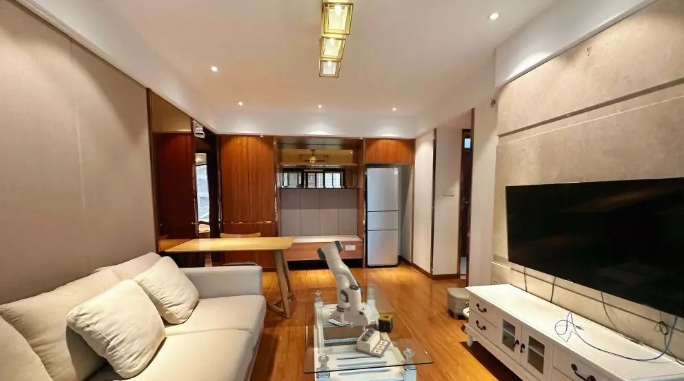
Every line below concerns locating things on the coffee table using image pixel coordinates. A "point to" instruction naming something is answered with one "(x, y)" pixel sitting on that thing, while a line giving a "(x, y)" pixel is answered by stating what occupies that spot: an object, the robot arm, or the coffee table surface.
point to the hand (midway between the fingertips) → (357, 328)
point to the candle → (385, 323)
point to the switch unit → (372, 345)
